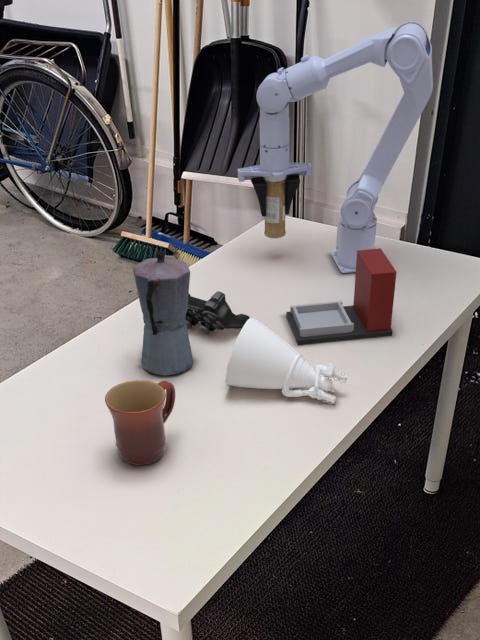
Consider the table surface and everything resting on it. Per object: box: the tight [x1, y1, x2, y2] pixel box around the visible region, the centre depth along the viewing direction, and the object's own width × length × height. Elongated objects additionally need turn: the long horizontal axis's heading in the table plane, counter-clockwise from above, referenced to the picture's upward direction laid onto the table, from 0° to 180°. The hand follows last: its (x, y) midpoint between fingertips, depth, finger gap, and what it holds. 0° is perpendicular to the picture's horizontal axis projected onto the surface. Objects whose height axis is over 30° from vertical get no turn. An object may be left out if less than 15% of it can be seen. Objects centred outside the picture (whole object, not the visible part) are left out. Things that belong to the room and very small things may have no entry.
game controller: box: [185, 290, 251, 335], centre depth 156 cm, size 16×7×10 cm, turn 55°
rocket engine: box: [225, 316, 349, 405], centre depth 139 cm, size 12×12×18 cm
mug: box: [104, 379, 176, 466], centre depth 127 cm, size 12×9×10 cm
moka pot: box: [132, 250, 194, 376], centre depth 142 cm, size 10×15×20 cm, turn 174°
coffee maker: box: [285, 248, 397, 346], centre depth 154 cm, size 11×17×12 cm, turn 99°
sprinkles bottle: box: [263, 175, 287, 239], centre depth 173 cm, size 5×5×13 cm
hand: (274, 213), depth 174 cm, fingers closed on sprinkles bottle, 4 cm apart
